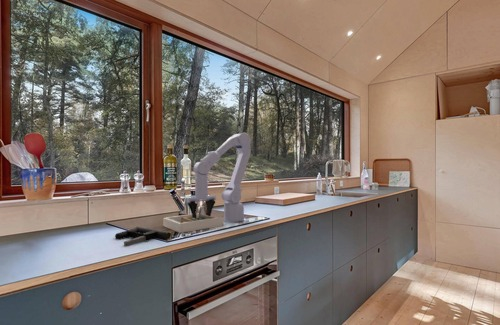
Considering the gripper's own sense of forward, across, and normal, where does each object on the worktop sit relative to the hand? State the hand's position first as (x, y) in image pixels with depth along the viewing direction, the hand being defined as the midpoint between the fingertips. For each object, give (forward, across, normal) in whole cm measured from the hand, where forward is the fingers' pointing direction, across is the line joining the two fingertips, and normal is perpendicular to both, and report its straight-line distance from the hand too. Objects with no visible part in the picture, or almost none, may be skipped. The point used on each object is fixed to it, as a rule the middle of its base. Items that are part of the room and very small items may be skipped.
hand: (201, 216), depth 134 cm
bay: (+4, -4, 0) cm, 6 cm away
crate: (+3, -1, 0) cm, 4 cm away
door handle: (+4, -31, -7) cm, 32 cm away
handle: (+2, 0, 0) cm, 2 cm away
